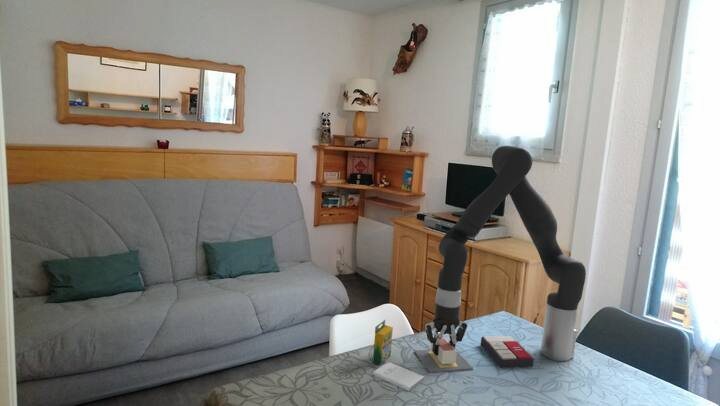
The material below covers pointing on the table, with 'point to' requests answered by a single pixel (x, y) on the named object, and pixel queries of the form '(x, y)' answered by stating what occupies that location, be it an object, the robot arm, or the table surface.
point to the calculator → (506, 352)
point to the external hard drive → (399, 376)
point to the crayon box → (382, 343)
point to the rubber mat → (436, 366)
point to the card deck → (446, 352)
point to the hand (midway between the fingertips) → (443, 353)
